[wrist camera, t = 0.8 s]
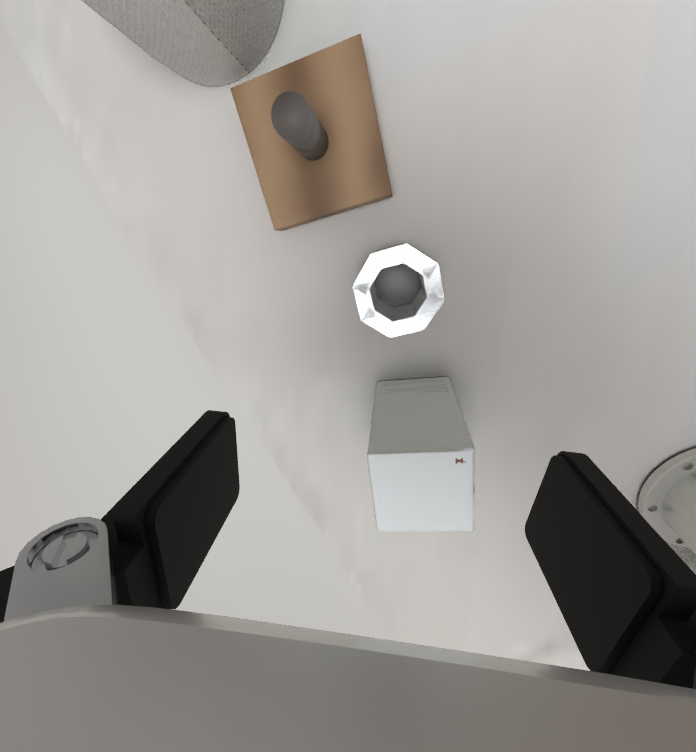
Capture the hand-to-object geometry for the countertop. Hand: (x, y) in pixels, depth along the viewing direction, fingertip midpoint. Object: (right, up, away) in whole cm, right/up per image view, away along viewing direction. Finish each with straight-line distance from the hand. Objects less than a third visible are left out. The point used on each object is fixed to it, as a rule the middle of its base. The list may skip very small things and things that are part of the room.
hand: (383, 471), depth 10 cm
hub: (+3, +11, +21) cm, 24 cm away
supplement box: (+6, -1, +25) cm, 26 cm away
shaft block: (-3, +21, +17) cm, 28 cm away
